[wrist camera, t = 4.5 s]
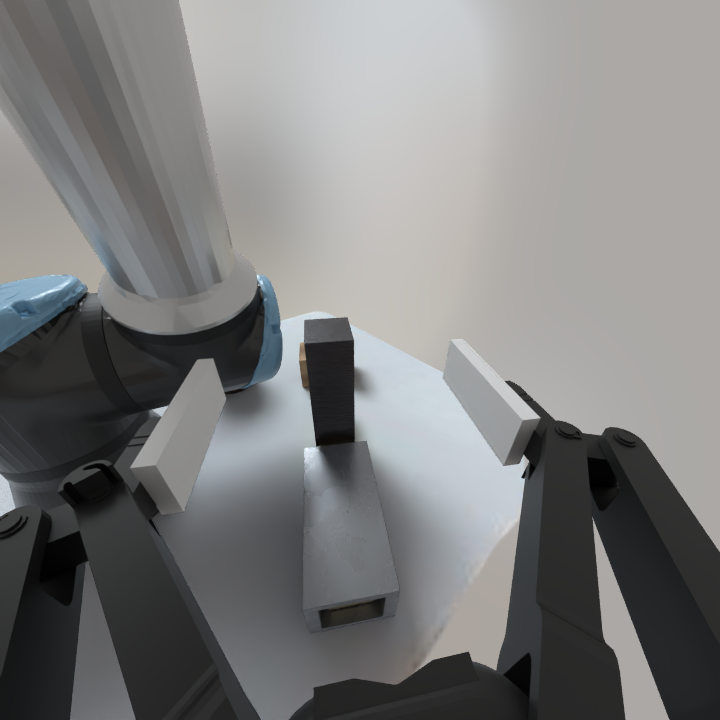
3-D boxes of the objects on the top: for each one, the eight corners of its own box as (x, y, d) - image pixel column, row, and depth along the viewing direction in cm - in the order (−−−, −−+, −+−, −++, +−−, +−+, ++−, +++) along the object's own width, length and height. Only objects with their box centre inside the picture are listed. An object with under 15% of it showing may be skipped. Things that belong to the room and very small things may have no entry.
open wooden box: (354, 382, 50) (353, 356, 47) (302, 387, 49) (299, 360, 46) (349, 363, 55) (349, 339, 52) (303, 367, 54) (299, 342, 51)
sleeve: (394, 616, 24) (399, 590, 20) (309, 633, 23) (302, 609, 20) (365, 470, 35) (366, 440, 32) (309, 478, 34) (304, 448, 31)
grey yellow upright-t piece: (377, 600, 24) (391, 473, 14) (324, 610, 23) (301, 486, 14) (345, 407, 44) (342, 300, 34) (316, 410, 43) (304, 302, 33)
